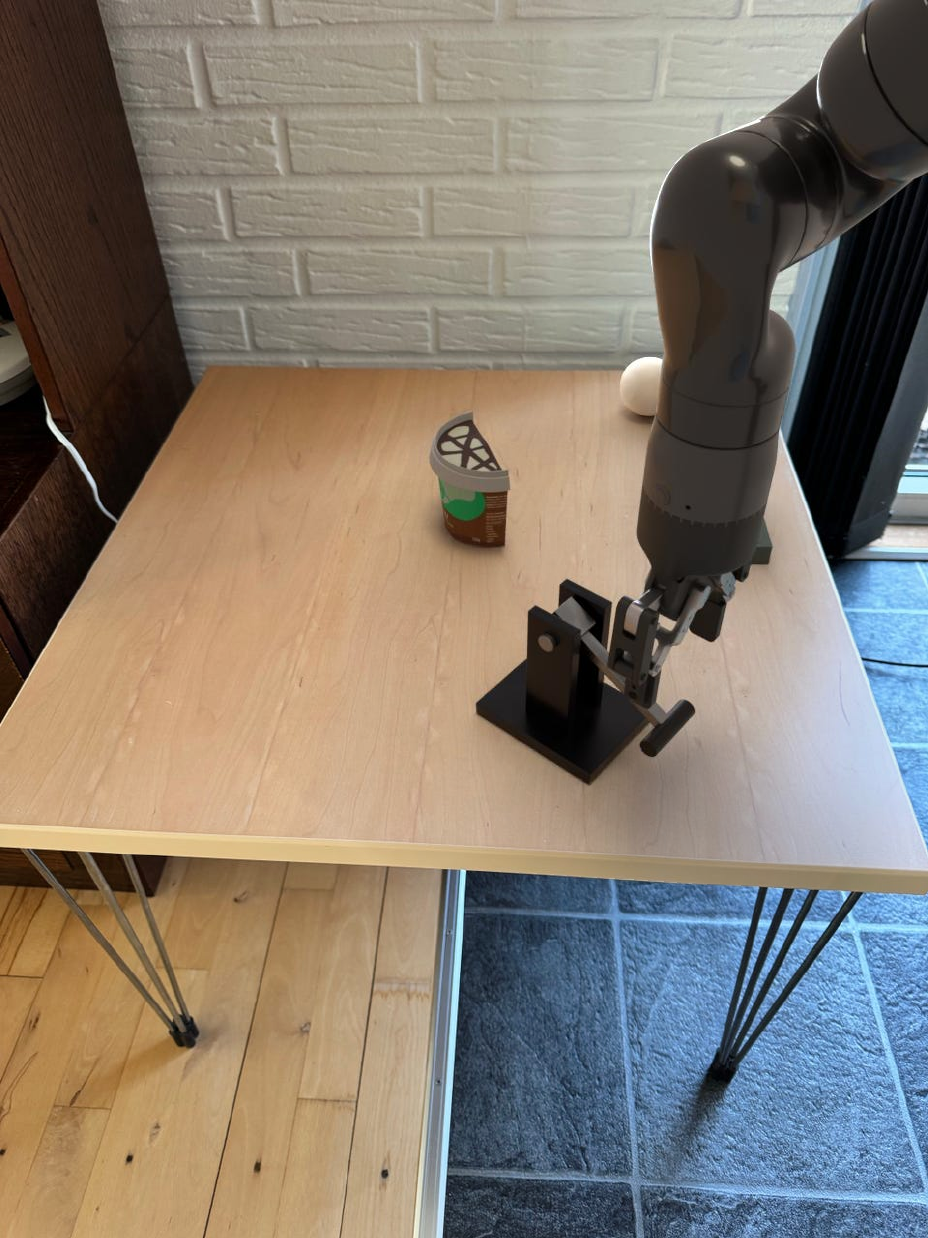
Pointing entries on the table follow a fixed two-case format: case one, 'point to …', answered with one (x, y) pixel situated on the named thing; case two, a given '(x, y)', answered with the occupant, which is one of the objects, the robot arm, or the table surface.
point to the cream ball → (641, 385)
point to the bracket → (564, 693)
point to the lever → (662, 721)
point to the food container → (470, 483)
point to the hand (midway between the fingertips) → (672, 666)
